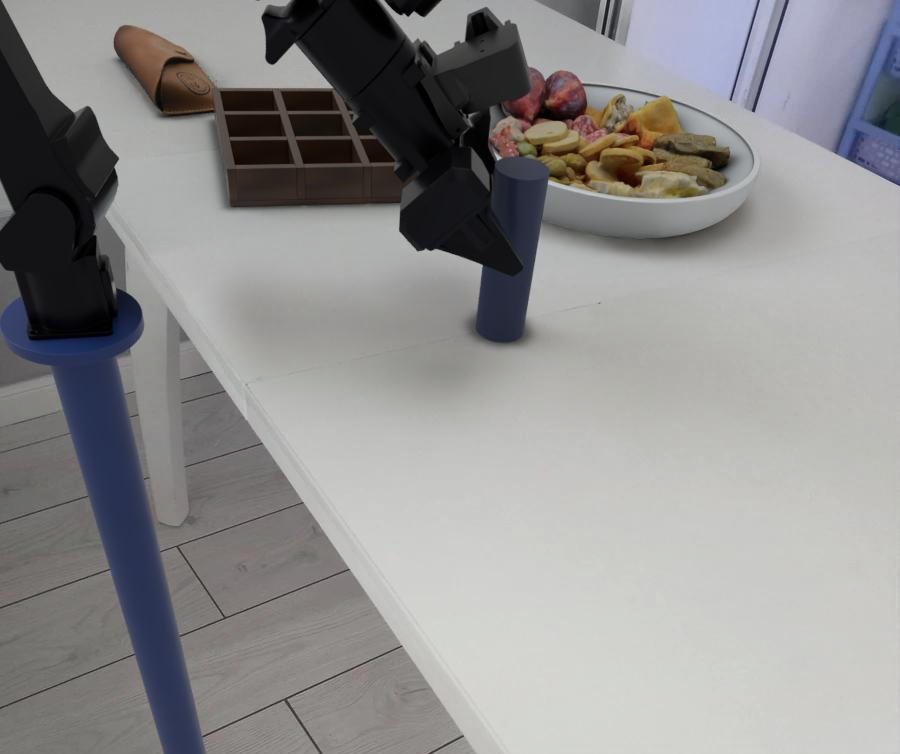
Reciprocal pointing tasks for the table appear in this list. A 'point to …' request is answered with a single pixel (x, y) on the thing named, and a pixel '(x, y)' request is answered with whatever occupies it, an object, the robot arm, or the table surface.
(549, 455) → the table surface
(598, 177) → the bowl
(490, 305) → the navy round peg
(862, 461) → the table surface
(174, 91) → the sunglasses case
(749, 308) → the table surface
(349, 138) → the grid
